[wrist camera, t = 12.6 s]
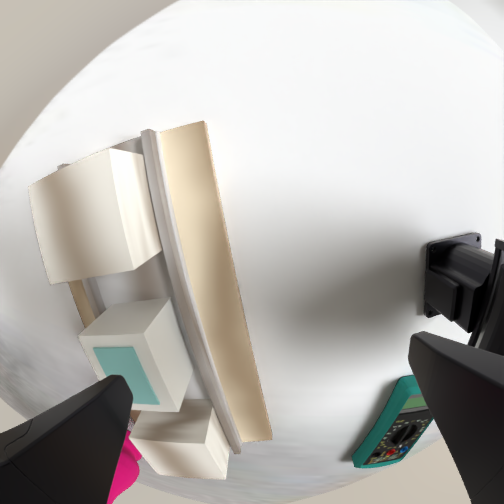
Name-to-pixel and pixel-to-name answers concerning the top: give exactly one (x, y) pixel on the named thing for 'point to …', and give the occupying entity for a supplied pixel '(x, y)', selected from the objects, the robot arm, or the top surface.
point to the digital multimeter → (395, 427)
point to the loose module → (142, 352)
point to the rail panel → (160, 282)
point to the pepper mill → (125, 469)
